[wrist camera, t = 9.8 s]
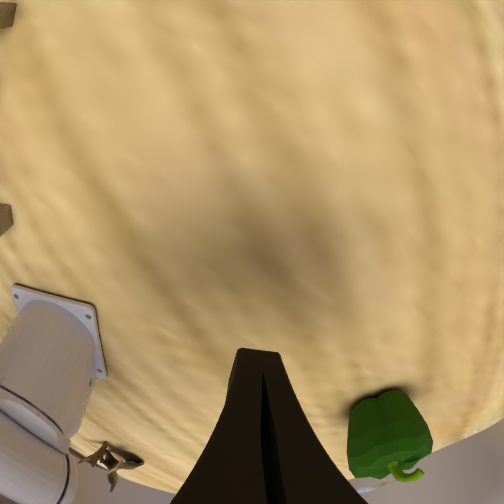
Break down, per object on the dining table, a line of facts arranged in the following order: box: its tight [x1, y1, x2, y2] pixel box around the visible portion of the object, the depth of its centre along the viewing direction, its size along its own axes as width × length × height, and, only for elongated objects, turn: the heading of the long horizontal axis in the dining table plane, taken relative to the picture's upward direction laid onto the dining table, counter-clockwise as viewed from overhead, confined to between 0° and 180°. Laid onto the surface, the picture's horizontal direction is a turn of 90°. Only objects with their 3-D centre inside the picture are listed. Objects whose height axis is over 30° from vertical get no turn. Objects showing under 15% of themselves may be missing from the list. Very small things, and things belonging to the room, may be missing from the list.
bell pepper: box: [347, 390, 433, 482], centre depth 25 cm, size 8×8×10 cm
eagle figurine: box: [78, 441, 144, 492], centre depth 36 cm, size 8×7×9 cm
